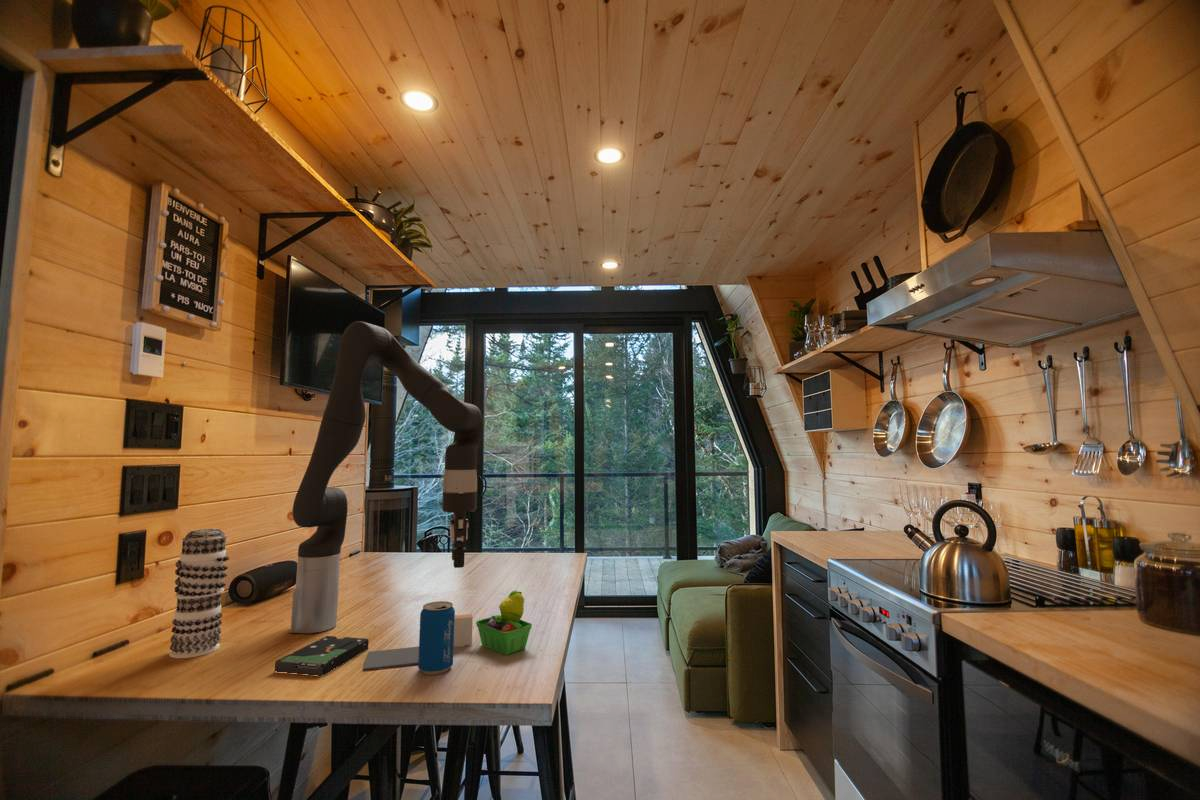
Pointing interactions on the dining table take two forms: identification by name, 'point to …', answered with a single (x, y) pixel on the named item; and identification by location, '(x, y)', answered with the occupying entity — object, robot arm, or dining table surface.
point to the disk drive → (322, 655)
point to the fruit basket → (506, 626)
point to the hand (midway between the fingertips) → (457, 563)
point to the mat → (392, 658)
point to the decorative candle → (199, 594)
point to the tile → (463, 630)
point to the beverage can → (436, 637)
